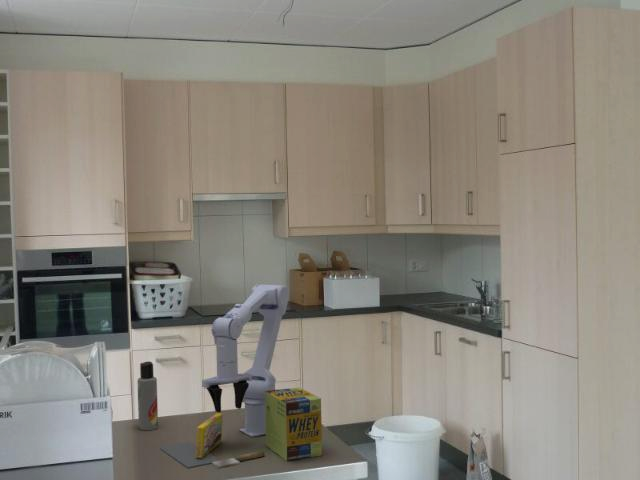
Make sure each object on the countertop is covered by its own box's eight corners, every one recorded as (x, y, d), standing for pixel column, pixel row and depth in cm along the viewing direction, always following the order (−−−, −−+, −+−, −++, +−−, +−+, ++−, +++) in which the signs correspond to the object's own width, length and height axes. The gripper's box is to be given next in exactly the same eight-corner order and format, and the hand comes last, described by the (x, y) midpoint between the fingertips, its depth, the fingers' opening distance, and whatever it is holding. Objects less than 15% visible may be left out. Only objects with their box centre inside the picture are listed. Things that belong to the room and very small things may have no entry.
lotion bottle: (162, 426, 240) (160, 361, 239) (148, 431, 235) (146, 365, 234) (148, 424, 243) (146, 359, 242) (134, 429, 238) (132, 363, 237)
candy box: (202, 459, 208) (203, 427, 208) (195, 458, 208) (195, 427, 208) (222, 442, 224) (223, 412, 224) (215, 441, 224) (215, 412, 224)
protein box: (286, 461, 206) (285, 403, 205) (265, 445, 220) (264, 390, 219) (323, 455, 210) (322, 398, 210) (299, 440, 224) (298, 386, 224)
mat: (189, 442, 224) (189, 441, 224) (220, 461, 207) (220, 460, 207) (159, 448, 219) (159, 447, 219) (187, 468, 202) (187, 467, 202)
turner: (259, 454, 213) (259, 448, 212) (267, 458, 209) (266, 452, 209) (212, 464, 205) (211, 458, 205) (218, 468, 202) (218, 463, 202)
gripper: (243, 355, 225) (244, 402, 226) (196, 362, 217) (197, 410, 218) (255, 359, 220) (256, 407, 220) (208, 366, 211) (209, 416, 212)
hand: (228, 409), depth 219 cm, fingers open, 6 cm apart
